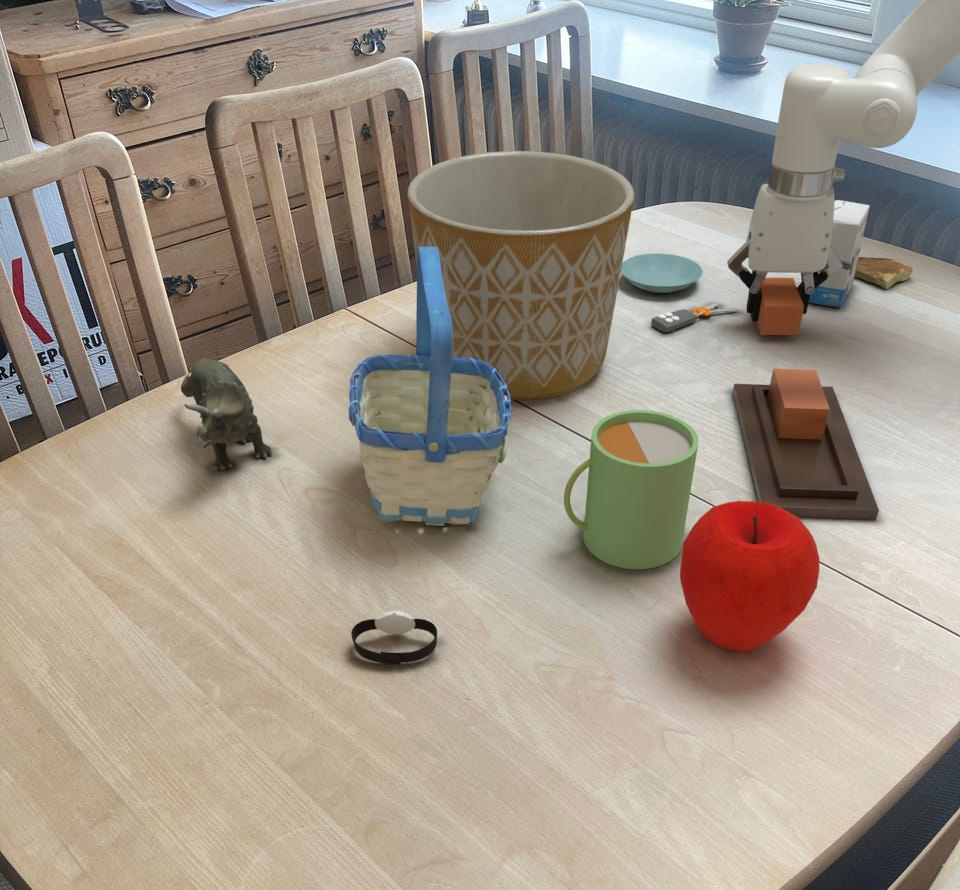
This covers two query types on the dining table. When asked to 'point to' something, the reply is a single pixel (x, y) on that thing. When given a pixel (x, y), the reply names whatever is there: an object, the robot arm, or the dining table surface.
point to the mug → (636, 488)
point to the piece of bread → (882, 271)
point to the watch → (394, 625)
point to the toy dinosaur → (222, 410)
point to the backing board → (802, 448)
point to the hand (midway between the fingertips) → (774, 316)
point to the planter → (526, 261)
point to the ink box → (843, 252)
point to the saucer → (661, 272)
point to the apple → (747, 573)
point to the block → (780, 307)
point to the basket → (429, 418)
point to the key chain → (683, 317)
